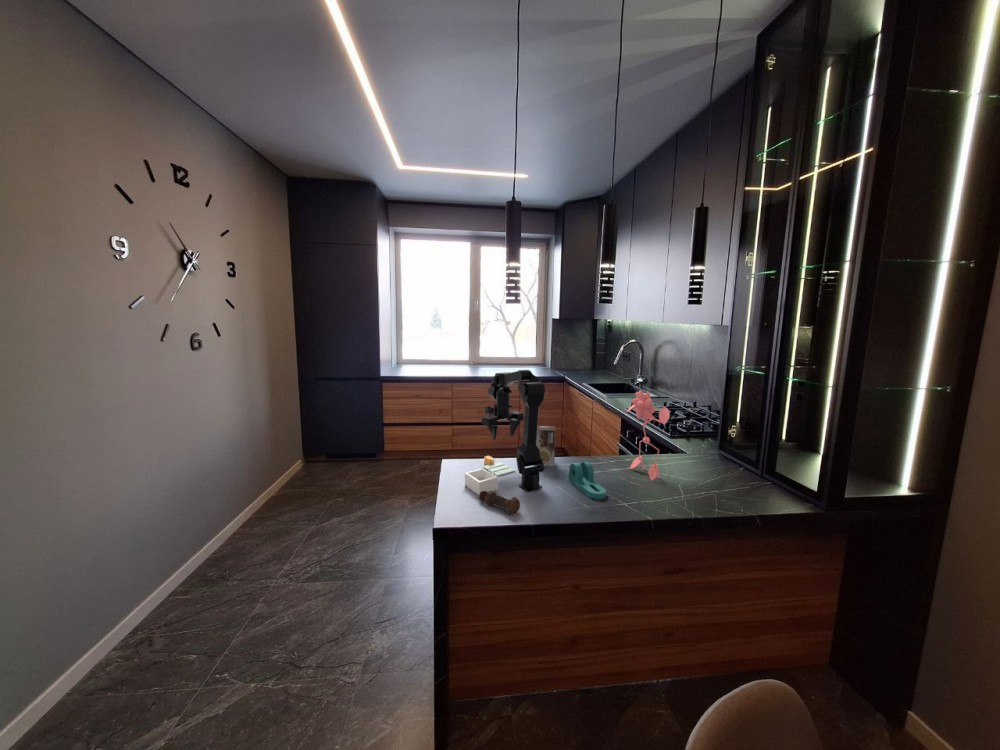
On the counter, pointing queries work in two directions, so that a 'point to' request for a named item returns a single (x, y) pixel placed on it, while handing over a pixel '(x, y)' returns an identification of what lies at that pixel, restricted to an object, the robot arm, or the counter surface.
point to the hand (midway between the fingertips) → (503, 438)
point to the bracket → (586, 480)
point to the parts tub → (481, 481)
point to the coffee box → (546, 444)
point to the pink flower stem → (645, 410)
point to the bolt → (501, 501)
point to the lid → (496, 466)
